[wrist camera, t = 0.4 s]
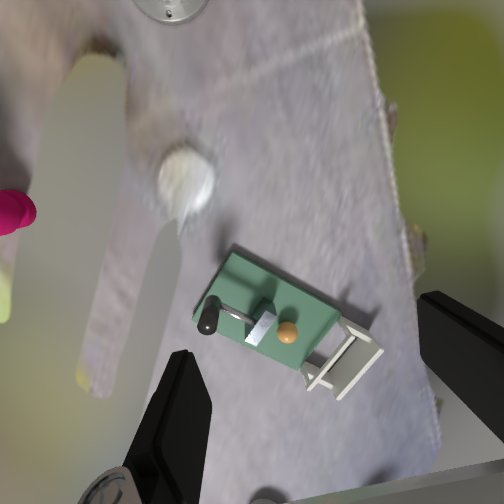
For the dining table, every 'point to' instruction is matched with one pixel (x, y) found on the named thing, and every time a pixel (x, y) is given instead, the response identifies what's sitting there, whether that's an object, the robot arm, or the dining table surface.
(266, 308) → the grey mallet
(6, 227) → the pepper mill
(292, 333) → the ball
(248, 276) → the pitch board
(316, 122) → the dining table surface
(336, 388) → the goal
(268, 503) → the lumpy-topped squat cylinder
